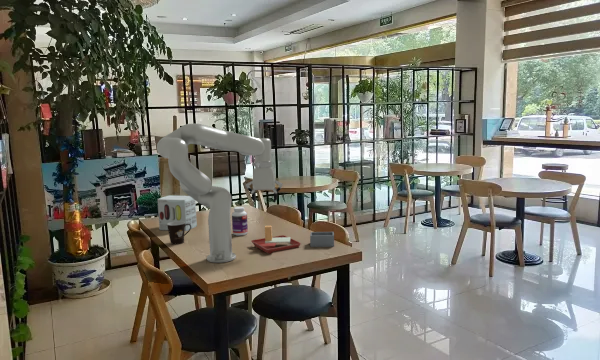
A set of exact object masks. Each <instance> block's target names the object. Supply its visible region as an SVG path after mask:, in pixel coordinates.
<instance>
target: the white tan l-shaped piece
mask: <svg viewBox="0 0 600 360" xmlns="http://www.w3.org/2000/svg"><path fill="white" fill-rule="evenodd" d="M272 237H273V226H272V225H265V226H264V238H265V243H276V244H286V243H287V244H291V243H290V239H292V237H291V236H287V237H278V238H272Z"/></svg>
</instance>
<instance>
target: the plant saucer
mask: <svg viewBox="0 0 600 360" xmlns="http://www.w3.org/2000/svg"><path fill="white" fill-rule="evenodd" d="M278 237H288V236H286V235H285V234H282V235H277V236H276V235H275V236H272V238H278ZM250 242H251V243H252V244H253V246H255V247H256V248H258V249H259V250H261V251H263V252H265V253H267V255H268V254H272V253H273V252H279V251H284V250H290V249H294V248H299V247H300V245H302V243H301V242H299V241H298V240H295V239H293V238H291V239H290V243H289V244H290V245H283V246H279V247H276V245H277V243H265V237H264V238H258V239H257V238H256V239H253V240H251V241H250Z"/></svg>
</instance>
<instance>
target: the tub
mask: <svg viewBox="0 0 600 360" xmlns="http://www.w3.org/2000/svg"><path fill="white" fill-rule="evenodd" d="M309 236H310V237H309V239H310V241H309V243H310V248H315V247H316V248H320V247H321V248H326V247H329V248H330V247H333V248H335V233H334V231H310V235H309Z"/></svg>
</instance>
